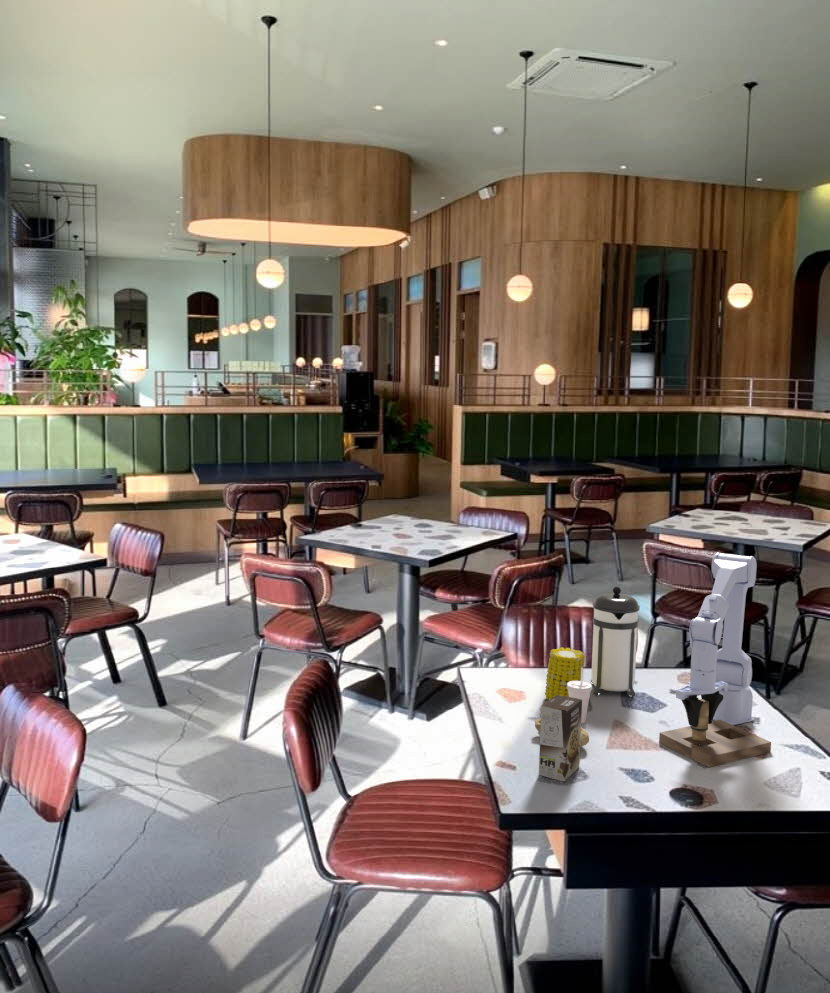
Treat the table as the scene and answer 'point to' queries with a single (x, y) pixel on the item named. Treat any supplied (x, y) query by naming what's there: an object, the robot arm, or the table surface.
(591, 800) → the table surface
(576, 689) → the smoothie
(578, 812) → the table surface
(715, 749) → the walnut board
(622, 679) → the coffee press
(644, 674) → the table surface
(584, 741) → the oil lamp
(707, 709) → the oak peg
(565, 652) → the food
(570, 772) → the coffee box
